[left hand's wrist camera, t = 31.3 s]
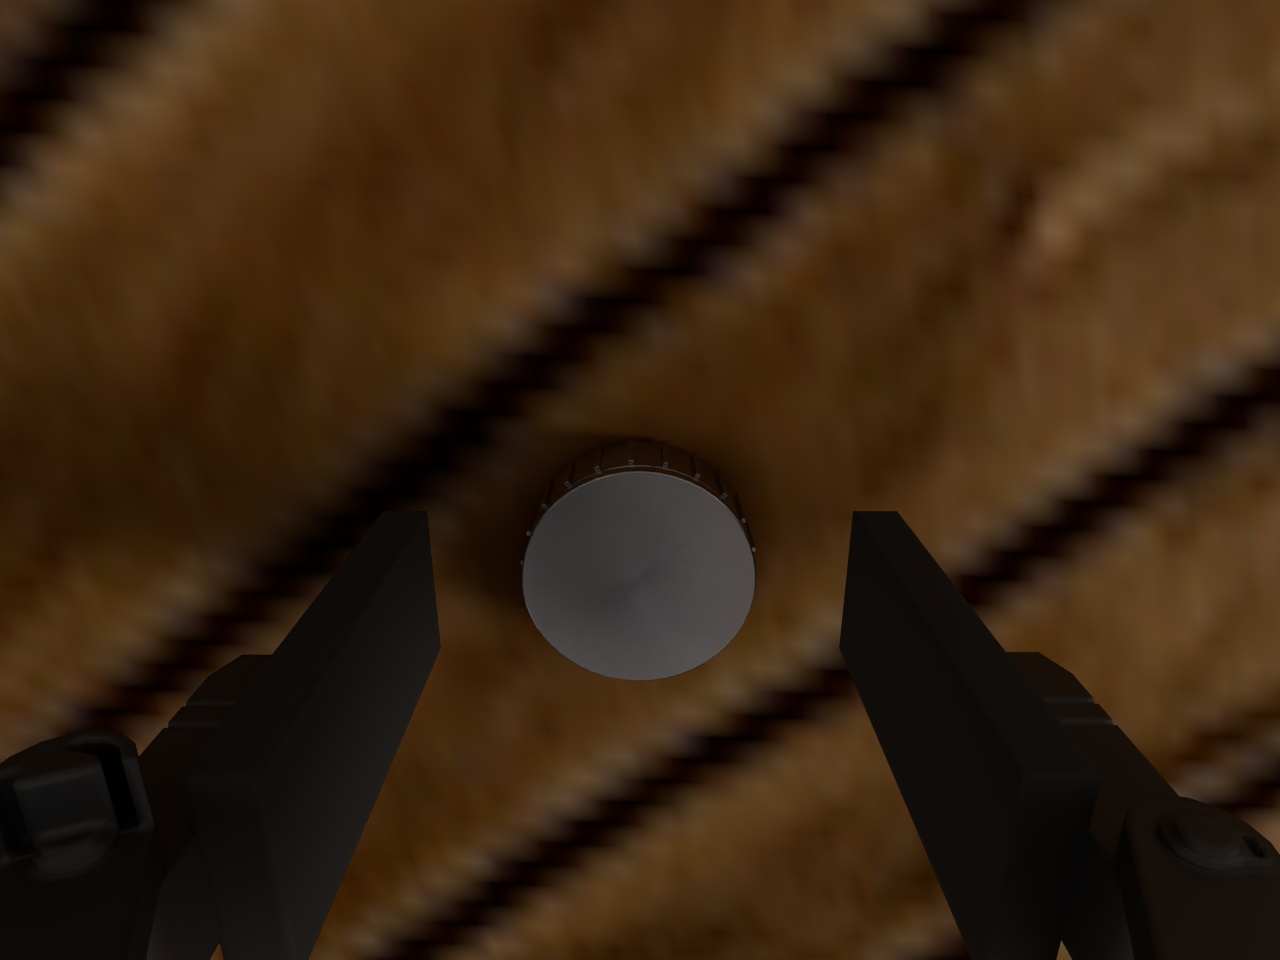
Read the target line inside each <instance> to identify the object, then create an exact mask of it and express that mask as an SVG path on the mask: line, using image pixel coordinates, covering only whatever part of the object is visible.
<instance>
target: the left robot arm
mask: <svg viewBox="0 0 1280 960" xmlns="http://www.w3.org/2000/svg"><path fill="white" fill-rule="evenodd" d="M440 648H441V646H440V636H439V626H438V616H437V607H436V597H435V587H434V577H433V567H432V557H431V547H430V537H429V527H428V517H427V511H383V512H382V513H381V515H380V516H379V517H378V518H377V520H376V521H375V522H374V524H373V525H372V526H371V528H370V529H369V530H368V531H367V533H366V534H365V535H364V537H363V538H362V539H361V540H360V542H359V543H358V544H357V546H356V547H355V548H354V550H353V551H352V552H351V553H350V555H349V556H348V557H347V559H346V560H345V561H344V562H343V564H342V565H341V566H340V568H339V569H338V570H337V572H336V573H335V574H334V575H333V577H332V578H331V579H330V581H329V582H328V583H327V584H326V586H325V587H324V588H323V590H322V591H321V592H320V594H319V595H318V596H317V597H316V599H315V600H314V601H313V603H312V604H311V605H310V606H309V608H308V609H307V610H306V612H305V613H304V614H303V616H302V617H301V618H300V619H299V621H298V622H297V623H296V625H295V626H294V627H293V628H292V630H291V631H290V632H289V634H288V635H287V636H286V638H285V639H284V640H283V641H282V643H281V644H280V645H279V647H278V648H277V649H276V650H275V652H274V653H273V654H272V655H241V656H239V657H238V658H236V659H235V660H233V661H232V662H230V663H229V664H227V665H225V666H224V667H222V668H221V669H219V670H218V671H216V672H215V673H213V674H211V675H210V676H208V678H207V679H206V680H205V681H204V682H203V683H202V684H201V686H200V687H199V688H198V689H197V690H196V691H195V693H194V694H193V695H192V696H191V697H190V698H189V699H188V701H187V705H186V707H182V708H181V709H180V710H179V711H178V712H177V713H176V714H175V716H174V717H173V718H172V719H171V720H170V721H169V723H168V724H169V725H168V728H163V729H162V731H161V732H160V733H159V734H158V735H157V736H156V738H155V739H154V740H153V741H152V742H151V743H150V744H149V746H148V747H147V748H146V749H145V750H144V751H143V753H142V754H141V755H140V756H138V752H137V748H136V745H135V743H134V742H133V741H132V740H130V739H129V738H128V737H127V736H125V735H124V734H123V733H117V732H111V731H104V730H95V731H86V732H76V733H70V734H67V735H64V736H60V737H57V738H53V739H50V740H46V741H43V742H40V743H38V744H36V745H34V746H32V747H30V748H28V749H25V750H23V751H21V752H19V753H17V754H15V755H13V756H11V757H9V758H8V759H6V760H5V761H4V762H2V763H1V764H0V960H210V959H211V957H212V955H213V953H214V951H215V950H216V948H217V946H218V944H219V942H220V946H221V950H222V954H223V958H224V960H308V959H309V957H310V954H311V952H312V949H313V947H314V945H315V942H316V940H317V938H318V935H319V933H320V931H321V928H322V926H323V924H324V921H325V919H326V917H327V914H328V912H329V909H330V907H331V905H332V902H333V900H334V898H335V895H336V893H337V891H338V888H339V886H340V884H341V881H342V879H343V877H344V874H345V872H346V869H347V867H348V865H349V862H350V860H351V858H352V855H353V853H354V851H355V848H356V846H357V844H358V841H359V839H360V836H361V834H362V832H363V829H364V827H365V825H366V822H367V820H368V818H369V815H370V813H371V811H372V808H373V806H374V804H375V801H376V799H377V796H378V794H379V792H380V789H381V787H382V785H383V782H384V780H385V778H386V775H387V773H388V771H389V768H390V766H391V764H392V761H393V759H394V756H395V754H396V752H397V749H398V747H399V745H400V742H401V740H402V738H403V735H404V733H405V731H406V728H407V726H408V724H409V721H410V719H411V716H412V714H413V712H414V709H415V707H416V705H417V702H418V700H419V698H420V695H421V693H422V691H423V688H424V686H425V684H426V681H427V679H428V676H429V674H430V672H431V669H432V667H433V665H434V662H435V660H436V658H437V655H438V653H439V651H440ZM839 648H840V651H841V653H842V655H843V658H844V660H845V662H846V665H847V667H848V669H849V672H850V674H851V676H852V679H853V681H854V683H855V686H856V688H857V691H858V693H859V695H860V698H861V700H862V702H863V705H864V707H865V709H866V712H867V714H868V716H869V719H870V721H871V723H872V726H873V728H874V731H875V733H876V735H877V738H878V740H879V742H880V745H881V747H882V749H883V752H884V754H885V756H886V759H887V761H888V763H889V766H890V768H891V771H892V773H893V775H894V778H895V780H896V782H897V785H898V787H899V789H900V792H901V794H902V796H903V799H904V801H905V804H906V806H907V808H908V811H909V813H910V815H911V818H912V820H913V822H914V825H915V827H916V829H917V832H918V834H919V836H920V839H921V841H922V844H923V846H924V848H925V851H926V853H927V855H928V858H929V860H930V862H931V865H932V867H933V869H934V872H935V874H936V876H937V879H938V881H939V884H940V886H941V888H942V891H943V893H944V895H945V898H946V900H947V902H948V905H949V907H950V909H951V912H952V914H953V916H954V919H955V921H956V924H957V926H958V928H959V931H960V933H961V935H962V938H963V940H964V942H965V945H966V947H967V949H968V952H969V954H970V956H971V959H972V960H1056V958H1057V954H1058V950H1059V946H1060V942H1061V940H1062V942H1063V944H1064V945H1065V947H1066V949H1067V951H1068V953H1069V954H1070V956H1071V958H1072V960H1280V855H1279V853H1278V852H1277V850H1276V849H1275V848H1274V846H1273V845H1272V843H1271V842H1270V841H1268V840H1267V839H1266V838H1265V837H1263V836H1262V835H1261V834H1260V833H1258V832H1257V831H1256V830H1255V829H1254V828H1252V827H1251V826H1250V825H1249V824H1247V823H1246V822H1244V821H1242V820H1240V819H1238V818H1236V817H1235V816H1233V815H1231V814H1229V813H1227V812H1225V811H1223V810H1222V809H1220V808H1218V807H1215V806H1212V805H1209V804H1206V803H1203V802H1200V801H1197V800H1194V799H1190V798H1186V797H1179V796H1178V794H1177V793H1176V792H1175V791H1174V790H1173V789H1172V788H1171V786H1170V785H1169V784H1168V783H1167V782H1166V781H1165V780H1164V778H1163V777H1162V776H1161V775H1160V774H1159V773H1158V772H1157V770H1156V769H1155V768H1154V767H1153V766H1152V765H1151V764H1150V762H1149V761H1148V760H1147V759H1146V758H1145V757H1144V756H1143V754H1142V753H1141V752H1140V751H1139V750H1138V749H1137V748H1136V746H1135V745H1134V744H1133V743H1132V742H1131V741H1130V740H1129V738H1128V737H1127V736H1126V735H1125V734H1124V733H1123V731H1122V730H1121V729H1120V728H1119V727H1118V726H1117V725H1113V723H1112V719H1111V718H1110V717H1109V715H1108V714H1107V713H1106V712H1105V711H1104V710H1103V709H1102V707H1101V706H1100V705H1099V704H1095V703H1094V698H1093V697H1092V696H1091V695H1090V694H1089V693H1088V691H1087V690H1086V689H1085V688H1084V687H1083V686H1082V685H1081V683H1080V682H1079V681H1078V680H1077V679H1076V678H1075V676H1074V675H1073V674H1072V673H1070V672H1069V671H1067V670H1066V669H1064V668H1062V667H1061V666H1059V665H1058V664H1056V663H1055V662H1053V661H1051V660H1050V659H1048V658H1047V657H1045V656H1044V655H1042V654H1040V653H1039V652H1005V650H1004V649H1003V648H1002V647H1001V645H1000V644H999V643H998V641H997V640H996V639H995V638H994V636H993V635H992V634H991V632H990V631H989V630H988V628H987V627H986V626H985V625H984V623H983V622H982V621H981V619H980V618H979V617H978V616H977V614H976V613H975V612H974V610H973V609H972V608H971V606H970V605H969V604H968V603H967V601H966V600H965V599H964V597H963V596H962V595H961V594H960V592H959V591H958V590H957V588H956V587H955V586H954V584H953V583H952V582H951V581H950V579H949V578H948V577H947V575H946V574H945V573H944V572H943V570H942V569H941V568H940V566H939V565H938V564H937V562H936V561H935V560H934V559H933V557H932V556H931V555H930V553H929V552H928V551H927V550H926V548H925V547H924V546H923V544H922V543H921V542H920V540H919V539H918V538H917V537H916V535H915V534H914V533H913V531H912V530H911V529H910V527H909V526H908V525H907V524H906V522H905V521H904V520H903V518H902V517H901V516H900V515H899V513H898V512H897V511H853V518H852V527H851V537H850V547H849V557H848V567H847V577H846V587H845V597H844V607H843V617H842V626H841V636H840V646H839Z"/></svg>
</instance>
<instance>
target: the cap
mask: <svg viewBox="0 0 1280 960" xmlns="http://www.w3.org/2000/svg"><path fill="white" fill-rule="evenodd" d="M526 535H528V536H529V537H528V540H527V543H526V547H525V550H524V553H523V556H522V560H521V565H522V575H521V579H522V590H523V595H524V599H525V603H526V606H527V608H528V611H529V613H530V616H531V618H532V620H533V622H534V623H535V625H536V627H537V629H538V630H539V631H540V633H541V634H542V635H543V637H544V638H545V639H546V641H547V642H548V643H549V644H550V645H551V646H552V647H553V648H554V649H555V650H556V651H558V652H559V653H560V654H562V655H563V656H564V657H565V658H567V659H568V660H570V661H571V662H573V663H575V664H576V665H578V666H580V667H582V668H584V669H586V670H589V671H591V672H593V673H596V674H599V675H603V676H606V677H610V678H615V679H620V680H632V681H646V680H656V679H663V678H668V677H672V676H675V675H679V674H682V673H684V672H687V671H689V670H692V669H694V668H696V667H698V666H700V665H702V664H703V663H705V662H707V661H708V660H709V659H711V658H712V657H714V656H715V655H717V654H718V653H719V652H720V651H721V650H722V649H723V648H724V647H726V646H727V645H728V643H729V642H730V641H731V640H732V639H733V638H734V637H735V635H736V634H737V632H738V631H739V629H740V628H741V626H742V625H743V623H744V621H745V619H746V617H747V615H748V613H749V611H750V608H751V605H752V602H753V599H754V593H755V587H756V564H755V557H754V553H753V552H754V551H756V549H755V545H754V542H753V539H752V536H751V533H750V529H749V526H748V523H747V520H746V519H745V516H744V513H743V510H742V507H741V503H740V500H739V497H738V495H737V493H735V494H733V492H732V491H731V489H730V487H729V486H728V484H727V483H726V482H725V481H724V480H723V478H722V475H721V472H720V471H719V470H716V471H715V470H714V469H713V468H712V467H711V466H710V465H708V464H707V463H705V462H704V461H703V460H701V459H700V458H698V457H697V455H696V453H695V452H693V451H692V453H689V452H687V451H685V450H682V449H679V448H677V447H674V446H671V445H667V444H666V441H662V442H661V443H658V442H648V441H634V439H629V441H628V442H621V443H615V444H611V445H608V446H604V447H603V446H602V444H601V445H598V447H597V449H596V450H593V451H591V452H589V453H587V454H585V455H583V456H582V457H580V458H578V459H577V460H574V459H572V460H570V462H569V466H567V467H566V468H565V469H564V470H563V471H562V472H561V473H560V474H559V475H558V476H557V477H556V478H555V479H554V480H553V481H552V480H550V481H549V482H548V485H547V488H546V491H545V494H544V496H543V498H542V500H541V501H540V504H539V506H537V505H535V508H534V511H533V514H532V518H531V521H530V524H529V527H528V530H527V533H526Z"/></svg>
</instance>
